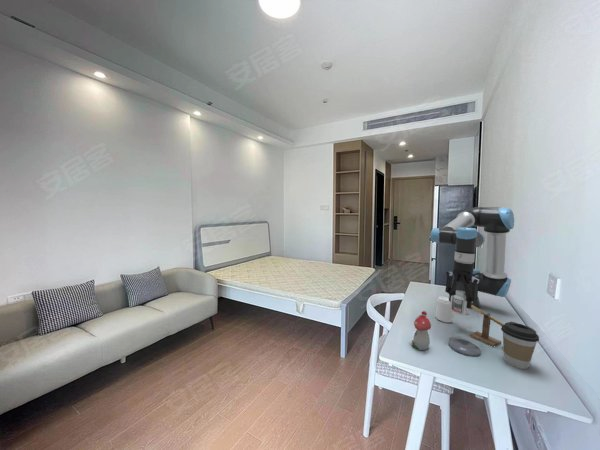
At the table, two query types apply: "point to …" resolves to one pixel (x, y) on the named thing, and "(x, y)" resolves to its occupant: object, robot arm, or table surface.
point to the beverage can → (444, 310)
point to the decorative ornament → (421, 332)
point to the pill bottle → (459, 302)
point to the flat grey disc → (464, 347)
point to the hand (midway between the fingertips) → (458, 311)
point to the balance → (486, 329)
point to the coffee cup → (518, 344)
